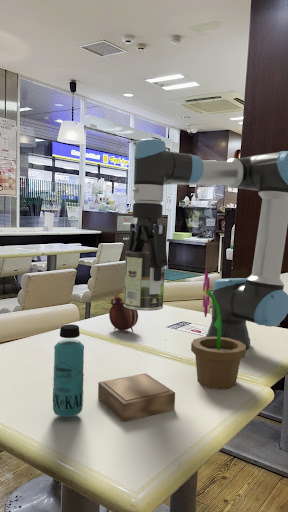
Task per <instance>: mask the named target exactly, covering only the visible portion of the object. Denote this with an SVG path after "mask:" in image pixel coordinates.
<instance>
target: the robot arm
mask: <svg viewBox="0 0 288 512" xmlns="http://www.w3.org/2000/svg"><path fill="white" fill-rule="evenodd" d="M133 157H134V158H133V159H134V169H133V170H134V172H133V188H132V193H133V199H132V200H133V201H134V203H133V204H132V218H134V219H136V223H135V222H134V223H130V225H129V227H130V228H129V236H128V242H127V248H126V251H135V252H141V251H144V246H145V244H146V245H147V248H148V251H149V253H150V254H151V262H152V265H151V266H150V285H149V294H160V287H161V271H162V268H163V266H165V267H166V266H168V264H169V263H168V255H167V245H166V237H165V235H166V234H165V233H166V225H165V224H159V223H158V222H159V221H158V220H160V219H162V218H163V207H164V206H163V204H161V203H163V202H164V187H165V186H166V185H184V186H185V185H187V186H189V185H190V186H192V185H194V186H195V185H196V186H197V185H200V186H201V185H203V186H211V185H212V186H219V185H221V186H225V187H227V188H229V189H240V190H241V189H242V190H250V191H258V196H259V197H260V198H261V199H262V200H261V206H260V207H261V208H260V214H259V221H258V228H257V235H256V242H255V248H254V249H255V250H254V256H253V257H254V258H253V263H252V270H251V274H250V275H249V276H248V277H246V278H245V277H244V278H243V277H242V278H241V277H238V278H237V277H235V278H234V277H233V278H232V277H230V278H228V277H227V278H218V279H216V280H214V281H213V287H212V291H211V292H212V294H213V295H214V297H215V299H216V301H217V304H218V306H219V309H220V316H221V337H223V338H230V339H234V340H237V341H240V342H242V343H243V344H245V345H246V350H248V349H250V347H251V338H250V335H249V330H248V327H247V321H248V322H251V323H255V324H256V325H259V326H265V327H275V326H278V325H280V324H281V322H282V321H283V320H285V318H286V316H287V314H288V293H287V292H286V291H284V287H285V284H284V282H283V281H282V280H281V272H282V266H283V265H282V264H283V258H284V252H285V245H286V238H287V232H288V231H287V230H288V150H287V151H286V150H281V151H278V152H271V153H263V154H256V155H250V156H247V157H246V156H245V157H239V158H235V157H234V158H233V157H232V158H229V159H227V160H211V159H210V160H209V159H208V160H207V159H202V158H201V157H200V156H198V155H196V154H195V155H194V154H192V153H182V152H176V151H169V150H167V147H166V142H165V141H164V140H161V139H159V138H158V139H157V138H142V139H140V140H137V142H136V144H135V149H134V156H133ZM164 185H165V186H164ZM162 260H163V261H162ZM211 304H212V305H211V323H210V325H209V328H208V330H207V333H206V335H205V337H217V331H218V329H217V328H216V327H214V324H215V322H216V320H217V313H216V308H215V305H214V303H213V301H212V300H211Z"/></svg>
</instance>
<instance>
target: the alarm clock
mask: <svg viewBox="0 0 288 512" xmlns="http://www.w3.org/2000/svg"><path fill="white" fill-rule="evenodd" d="M119 294H124V291H118V292H117V293H116V295H115V294H114V295H113V297H112V298H111V300H110V303H111V307H110V309H109V311H108V312H109V313H108V316H109V321H110V323H111V325H112V326H113V327H114V329H113V330H118V331H126V333H129V331H128V330H131V332H132V333H133V332H134V329H133V327H135V326H136V325H137V322H138V319H139V311H138V310H133V309H128V308H125V307H124V298H122V297H121V296H119Z"/></svg>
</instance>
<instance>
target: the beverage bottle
mask: <svg viewBox="0 0 288 512" xmlns="http://www.w3.org/2000/svg"><path fill="white" fill-rule="evenodd" d="M59 328H60V329H59V337H61V338H62V339H61V340H59V341H58V342H57V343H56V344H55V345H54V347H53V349H54V353H53V354H54V360H53V361H54V362H53V379H52V381H53V382H52V385H53V387H52V403H51V404H52V411H53V413H54V414H55V415H56V416H59V417H63V418H65V417H66V418H68V417H74V416H77V415H79V414H81V412H82V410H83V406H84V394H85V393H84V363H85V361H84V360H85V359H84V357H85V356H84V354H85V353H84V351H85V345H84V344H83V343H82V342H81V341H80V340H78V339H75V338H78V337H80V333H81V332H80V327H79V325H78V324H63V325H61V326H60V327H59Z"/></svg>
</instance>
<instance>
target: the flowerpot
mask: <svg viewBox="0 0 288 512" xmlns="http://www.w3.org/2000/svg"><path fill="white" fill-rule="evenodd" d="M204 271H205V272H204V281H203V282H202V283H203V285H202V290H203V293H204V295H203V297H202V307H203V312H204V313H203V314H204V318H207V314H208V306H209V305H210V299H211V302H212V301H213V303H214V305H215V308H216V313H217V320H216V322H215V324H214V327H216V328H217V329H218V331H217V337H206V336H201V337H197V338H194V339H193V340H192V341H191V345H190V351H191V352H192V353H193V354H194V355H195V365H196V377H197V382H198V383H199V384H200V385H201V386H203V387H205V388H208V389H214V390H229V389H232V388H234V387H236V384H237V380H238V374H239V369H240V364H241V363H240V362H241V359H244V358H245V357H246V352H247V351H246V345H245V344H243V343H242V342H240V341H237V340H234V339H230V338H223V337H221V316H220V309H219V306H218V304H217V301H216V299H215V297H214V295H213V292H212V291H211V289H210V287H211V286H210V276H209V273H208V269H207V268H206V269H205V270H204Z"/></svg>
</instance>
